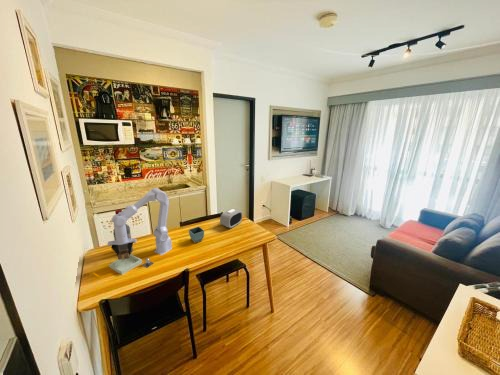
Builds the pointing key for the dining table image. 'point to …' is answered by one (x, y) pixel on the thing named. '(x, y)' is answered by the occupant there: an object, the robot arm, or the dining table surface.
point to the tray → (125, 264)
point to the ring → (123, 254)
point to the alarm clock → (231, 218)
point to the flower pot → (196, 234)
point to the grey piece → (147, 263)
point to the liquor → (124, 246)
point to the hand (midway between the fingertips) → (124, 254)
